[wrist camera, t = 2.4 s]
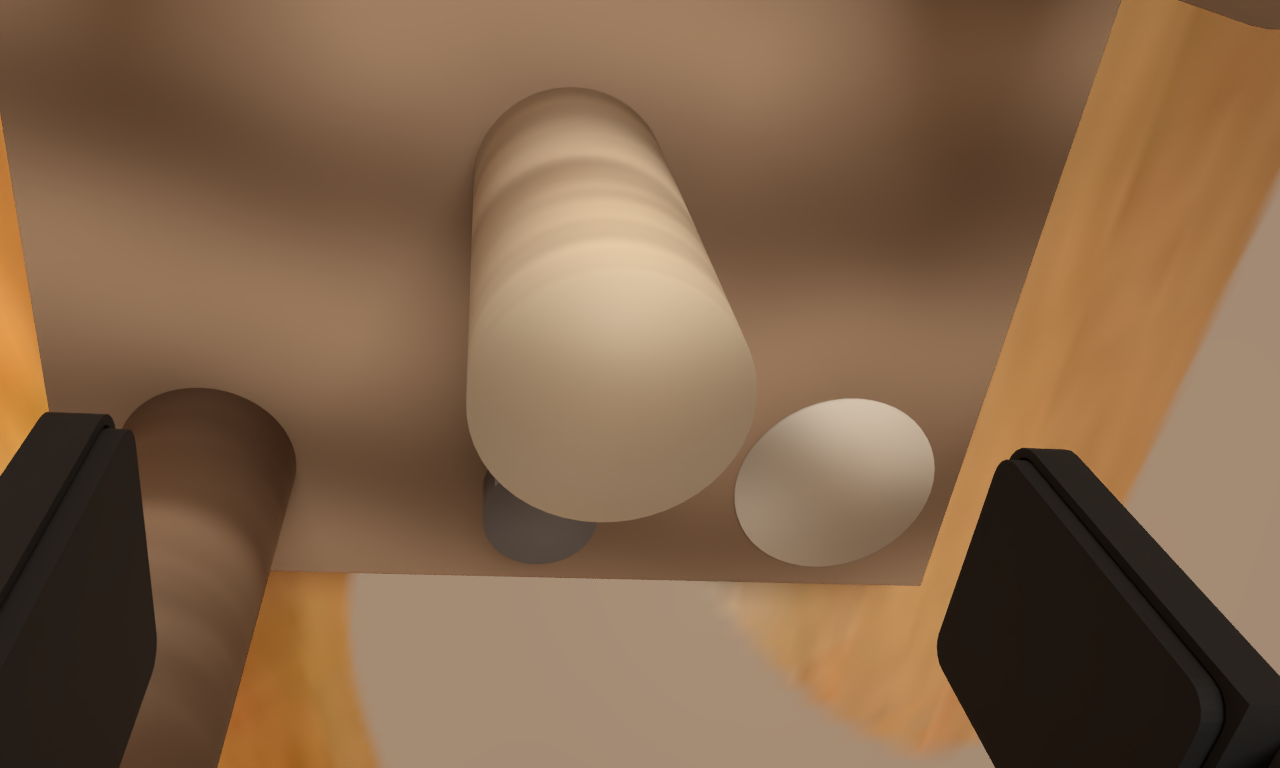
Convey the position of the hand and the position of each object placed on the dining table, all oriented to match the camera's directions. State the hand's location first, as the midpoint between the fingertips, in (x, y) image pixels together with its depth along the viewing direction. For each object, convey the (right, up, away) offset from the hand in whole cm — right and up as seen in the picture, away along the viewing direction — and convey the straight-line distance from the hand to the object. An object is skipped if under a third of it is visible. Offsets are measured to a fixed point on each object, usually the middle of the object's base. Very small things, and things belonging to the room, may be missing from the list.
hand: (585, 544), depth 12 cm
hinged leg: (-1, +3, +10) cm, 10 cm away
